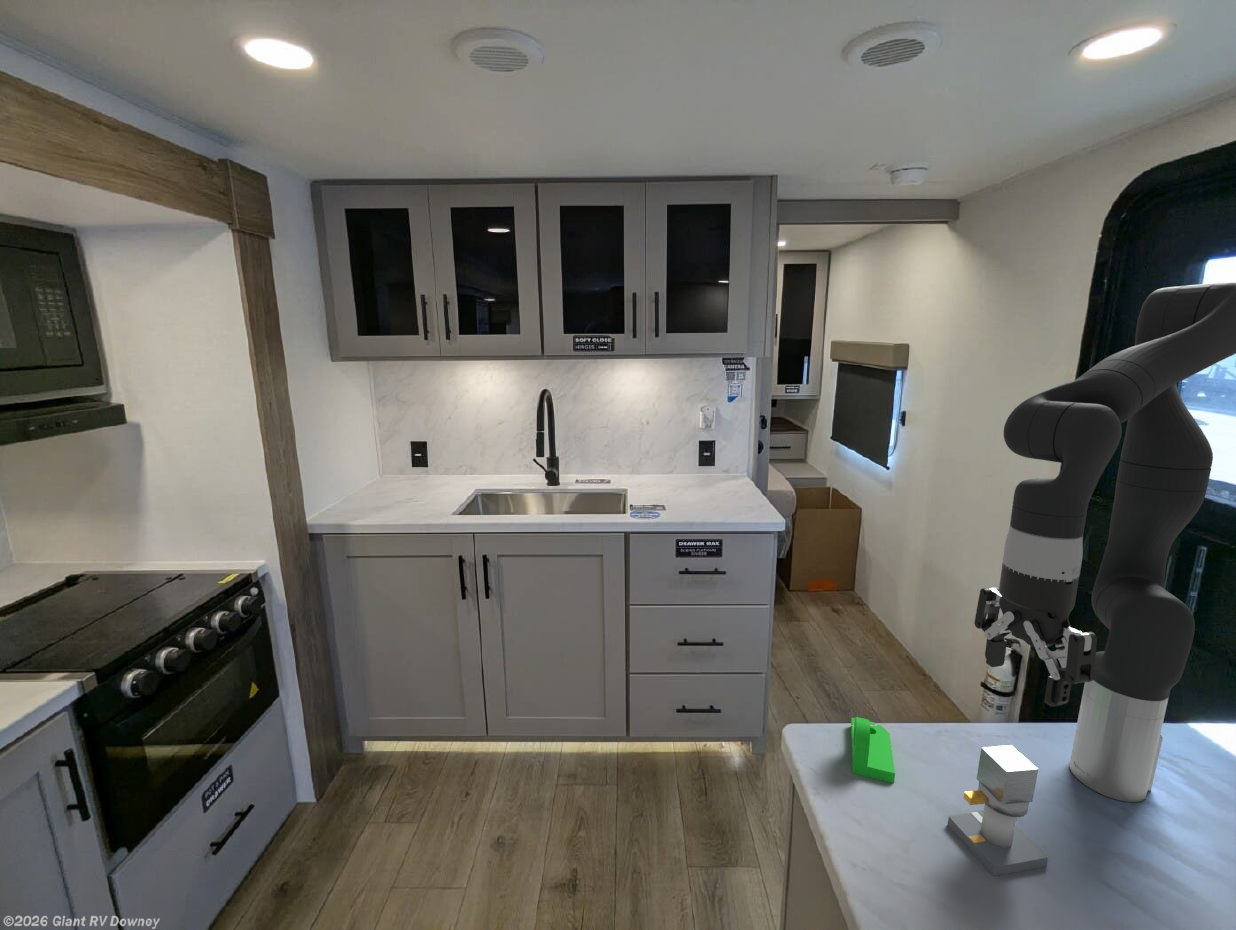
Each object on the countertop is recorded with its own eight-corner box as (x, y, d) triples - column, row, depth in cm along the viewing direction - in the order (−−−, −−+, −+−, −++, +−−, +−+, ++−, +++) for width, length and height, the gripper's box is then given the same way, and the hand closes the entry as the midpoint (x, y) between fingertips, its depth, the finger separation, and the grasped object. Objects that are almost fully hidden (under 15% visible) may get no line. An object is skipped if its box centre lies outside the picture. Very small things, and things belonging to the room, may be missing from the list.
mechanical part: (893, 784, 86) (898, 740, 85) (852, 773, 88) (857, 730, 87) (887, 735, 97) (891, 695, 96) (850, 727, 99) (854, 687, 98)
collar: (951, 787, 76) (957, 745, 75) (1004, 782, 77) (1011, 741, 76) (982, 820, 71) (988, 777, 69) (1038, 815, 71) (1046, 772, 70)
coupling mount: (995, 816, 80) (1002, 775, 78) (1046, 866, 72) (1054, 822, 71) (947, 824, 79) (953, 783, 77) (993, 876, 71) (1001, 831, 69)
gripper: (967, 547, 73) (954, 657, 76) (1071, 592, 59) (1050, 723, 63) (1015, 543, 74) (1000, 651, 78) (1128, 585, 61) (1104, 715, 64)
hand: (1022, 683), depth 70 cm, fingers open, 8 cm apart
